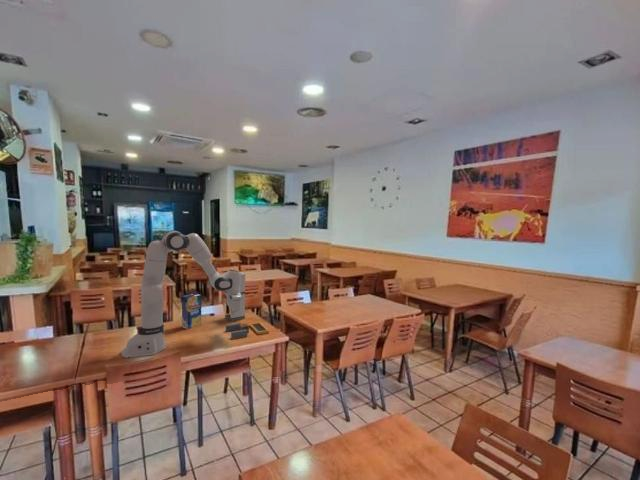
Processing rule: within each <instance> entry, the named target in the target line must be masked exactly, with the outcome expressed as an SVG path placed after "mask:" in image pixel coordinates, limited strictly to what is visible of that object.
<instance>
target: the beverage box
mask: <svg viewBox="0 0 640 480" xmlns="http://www.w3.org/2000/svg"><path fill="white" fill-rule="evenodd" d="M198 326H202V294H199V293H191V294H186V295H183V296H181V328H184V329H187V330H190V329H192V328H196V327H198Z"/></svg>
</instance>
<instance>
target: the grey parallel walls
mask: <svg viewBox="0 0 640 480" xmlns="http://www.w3.org/2000/svg"><path fill="white" fill-rule="evenodd" d="M239 325H241V322H237V323H231V324H225V332H226V333H227V332H230V338H231V340H233V339H239V338H245V337H248V333H247V330H240V331H239Z"/></svg>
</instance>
